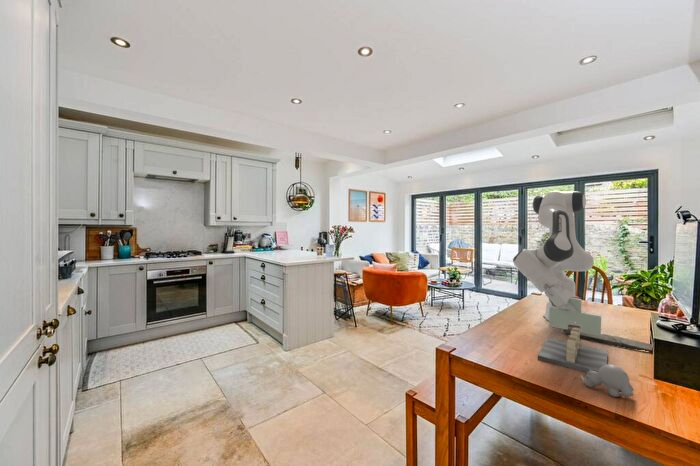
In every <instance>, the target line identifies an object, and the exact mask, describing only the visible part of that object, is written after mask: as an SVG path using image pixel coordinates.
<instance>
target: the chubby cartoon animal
mask: <svg viewBox="0 0 700 466" xmlns="http://www.w3.org/2000/svg"><path fill="white" fill-rule="evenodd" d="M587 372H588V373H587ZM587 372H586V376H583V375H582V374H581V375H580V376H581V380H582V381H583V383H584V384H585V386H587V387H589V388H593V387H595V386H600V385H603V386H605V387H606V388H607V391H608V394H609V395H610V396H611V397H612V398H613V397H614V398H618V397H621V394H622V396H623V397H624V398H625V397H626V398H630V397H633V396H634V393H633V392H634V386H633V385H632V384H631V383H630V377H629V375H628V373H627V372H626V371H625V370H624V369H622V368H621V367H620V366H617V365H615V364H607V365H604V366H602V367H601V368H600V369H599V371H598V372H596V371H592V370H591V369H590V368H589V371H587Z"/></svg>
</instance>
